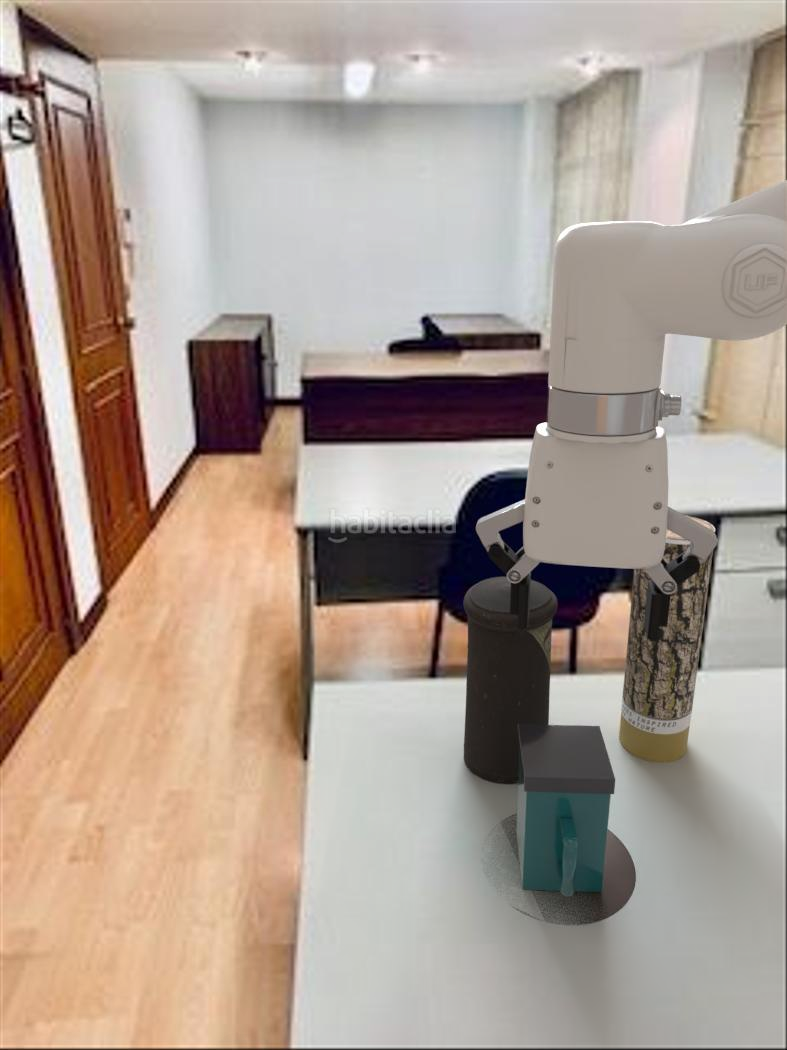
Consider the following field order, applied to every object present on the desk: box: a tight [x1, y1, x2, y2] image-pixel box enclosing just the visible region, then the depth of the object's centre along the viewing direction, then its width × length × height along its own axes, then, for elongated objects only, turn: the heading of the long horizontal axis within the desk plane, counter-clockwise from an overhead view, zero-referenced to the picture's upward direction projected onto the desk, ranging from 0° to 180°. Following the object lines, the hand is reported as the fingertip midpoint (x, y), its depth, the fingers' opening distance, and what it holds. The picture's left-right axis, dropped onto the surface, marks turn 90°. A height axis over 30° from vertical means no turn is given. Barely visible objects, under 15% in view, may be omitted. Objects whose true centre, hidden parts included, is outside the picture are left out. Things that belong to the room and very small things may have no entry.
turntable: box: [481, 813, 637, 926], centre depth 65 cm, size 13×13×1 cm
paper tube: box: [618, 514, 716, 763], centre depth 76 cm, size 7×7×25 cm
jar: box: [515, 724, 616, 898], centre depth 62 cm, size 9×7×11 cm
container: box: [462, 576, 559, 785], centre depth 75 cm, size 9×9×20 cm
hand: (585, 627), depth 59 cm, fingers open, 9 cm apart
